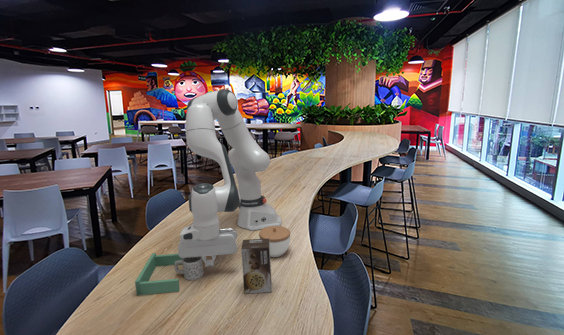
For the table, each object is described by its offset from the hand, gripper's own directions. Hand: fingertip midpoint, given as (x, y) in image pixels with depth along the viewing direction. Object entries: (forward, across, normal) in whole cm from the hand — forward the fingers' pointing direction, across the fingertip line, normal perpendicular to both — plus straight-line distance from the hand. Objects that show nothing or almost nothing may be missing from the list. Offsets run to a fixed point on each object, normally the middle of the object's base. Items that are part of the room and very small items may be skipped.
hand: (209, 265), depth 106 cm
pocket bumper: (+3, +15, 0) cm, 16 cm away
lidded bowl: (+3, -25, -11) cm, 27 cm away
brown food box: (+3, -17, +11) cm, 20 cm away
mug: (+3, +7, 0) cm, 8 cm away
